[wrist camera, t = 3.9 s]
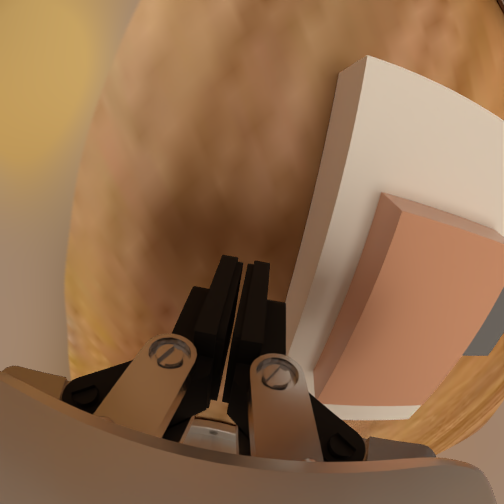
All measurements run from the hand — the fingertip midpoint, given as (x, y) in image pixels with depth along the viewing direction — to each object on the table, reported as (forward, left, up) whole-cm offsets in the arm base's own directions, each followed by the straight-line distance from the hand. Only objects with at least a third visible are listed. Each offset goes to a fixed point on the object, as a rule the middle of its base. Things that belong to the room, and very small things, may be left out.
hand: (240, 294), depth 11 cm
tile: (0, -7, -1) cm, 7 cm away
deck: (0, -8, -6) cm, 10 cm away
